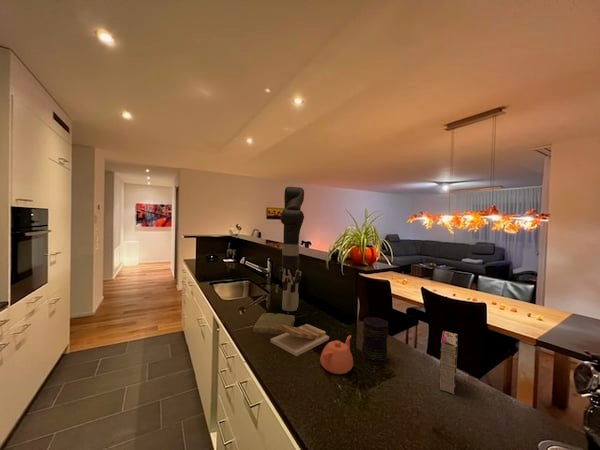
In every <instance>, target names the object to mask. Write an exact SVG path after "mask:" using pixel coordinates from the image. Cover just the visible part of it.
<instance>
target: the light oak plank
mask: <svg viewBox="0 0 600 450" xmlns="http://www.w3.org/2000/svg"><path fill="white" fill-rule="evenodd" d="M297 328H299V329H302V330H304V331H306V332H308V333H311V334H313V335H315V336H316V339H318V338H320V337H322V336H324V335H327V334H326V333H327V332H326V331H325V330H322V329H320V328H317V327H316V326H313V325H311V324H308V323H305V324H303V325H300V326H298V327H297Z"/></svg>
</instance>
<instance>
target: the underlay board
mask: <svg viewBox="0 0 600 450" xmlns="http://www.w3.org/2000/svg"><path fill="white" fill-rule="evenodd" d="M329 340H330V336H329V335H327V334H326V335H324V336H322V337H320V338H318V339H309V338H303V337H296V336H293V335H291V334H289V333H287V332H286V333H284V334H278V335H277V336H274V337H272V338H270V343H271V344H273V345H275V346H277V347H279V348H281V349H283V350H284V351H286V352H288V353H290V354H291V355H293V356H295V357H298V356H300V355H301V354H302V355H303V354H304V353H307V352H308V351H310V350H312V349H314V348H315V347H317V346H319V345H321V344H324V343H325V342H327V341H329Z"/></svg>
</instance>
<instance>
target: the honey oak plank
mask: <svg viewBox="0 0 600 450" xmlns="http://www.w3.org/2000/svg"><path fill="white" fill-rule="evenodd" d="M275 327H276V328H278V329H280V330H282V331H285V332H287V333H289V334H291V335H293V336H296V337H303V338H309V339H316V336H315V335H313V334H311V333H308V332H306V331H304V330H302V329H299V328H298V327H297V326H296V327H295V326H293V327H291V326H286V325H281V324H276V326H275Z"/></svg>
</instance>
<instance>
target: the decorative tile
mask: <svg viewBox="0 0 600 450" xmlns="http://www.w3.org/2000/svg"><path fill="white" fill-rule="evenodd" d="M295 321H296V319H295V314H294V315H291V314H284V313H273V312H263V313H262V314H261V316H260V317H259V318H258V320H257V321H256V323H255V324H254V326H253V328H252V332H253V333H261V334H270V335H271V334H272V335H273V334H274V335H281V334H284V333H286V332H285V331H282V330H280V329H278V328H276V327H275V326H276V324H281V325H286V326H291V327H294V324H295Z"/></svg>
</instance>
